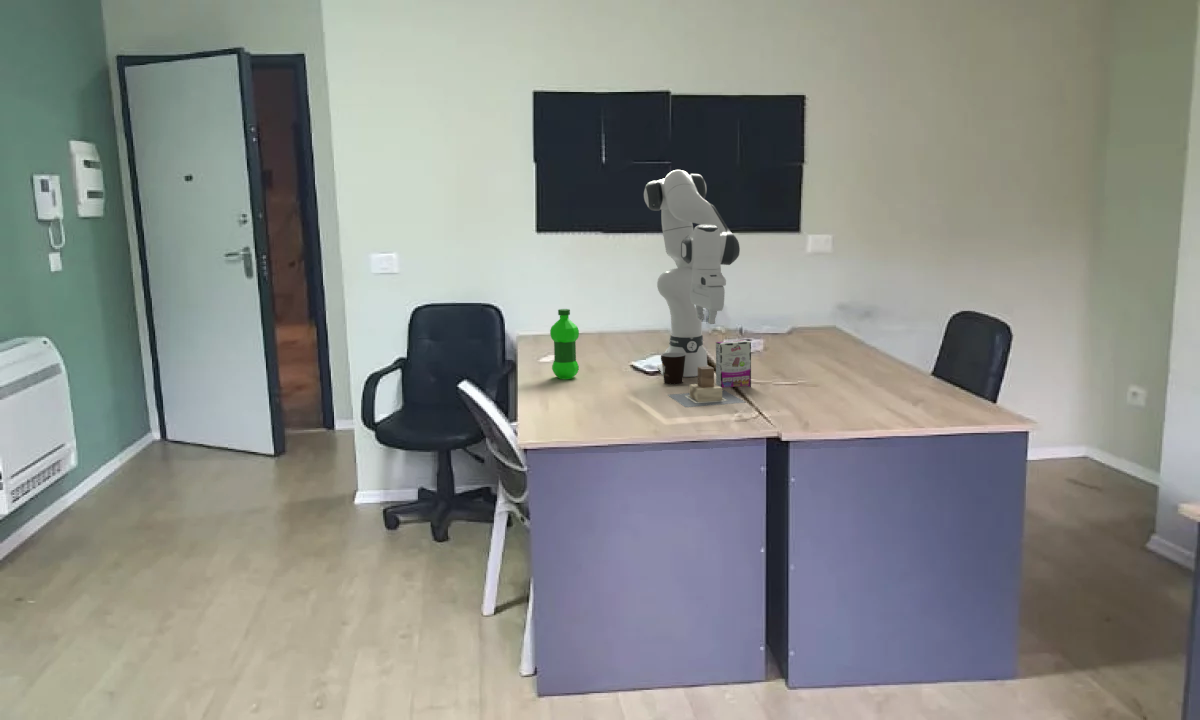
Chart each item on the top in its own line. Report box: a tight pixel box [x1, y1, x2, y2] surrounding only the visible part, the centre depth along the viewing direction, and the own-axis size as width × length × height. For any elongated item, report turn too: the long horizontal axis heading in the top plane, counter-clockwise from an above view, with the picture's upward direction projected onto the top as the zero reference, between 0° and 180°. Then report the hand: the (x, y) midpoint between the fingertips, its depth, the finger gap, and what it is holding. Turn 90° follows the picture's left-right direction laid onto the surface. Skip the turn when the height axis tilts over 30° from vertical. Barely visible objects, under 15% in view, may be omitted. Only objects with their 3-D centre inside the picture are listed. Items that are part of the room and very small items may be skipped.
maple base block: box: [689, 383, 723, 402], centre depth 298 cm, size 8×8×4 cm
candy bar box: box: [715, 339, 752, 388], centre depth 316 cm, size 11×5×16 cm, turn 105°
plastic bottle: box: [549, 308, 580, 380], centre depth 338 cm, size 10×10×25 cm
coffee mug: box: [660, 352, 686, 385], centre depth 330 cm, size 12×9×10 cm
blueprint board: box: [667, 389, 747, 408], centre depth 298 cm, size 18×20×2 cm
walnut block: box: [697, 365, 715, 388], centre depth 297 cm, size 4×4×6 cm
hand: (706, 321), depth 293 cm, fingers open, 8 cm apart
